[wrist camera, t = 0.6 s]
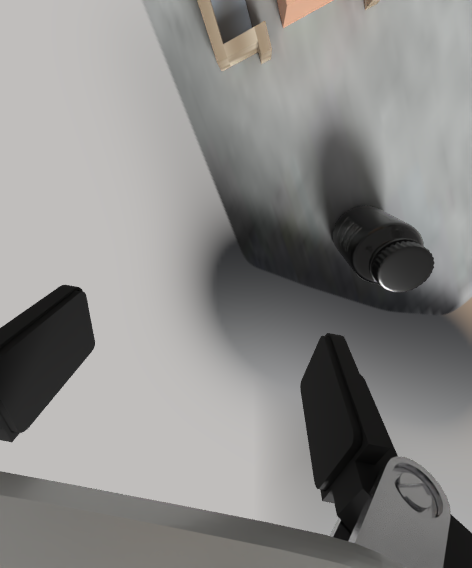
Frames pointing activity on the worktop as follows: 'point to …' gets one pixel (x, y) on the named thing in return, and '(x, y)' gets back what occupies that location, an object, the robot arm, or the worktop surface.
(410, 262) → the supplement bottle
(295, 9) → the terracotta block
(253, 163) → the worktop surface
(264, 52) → the trap lane
